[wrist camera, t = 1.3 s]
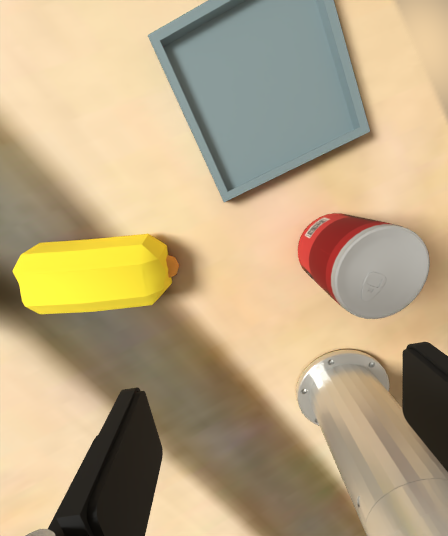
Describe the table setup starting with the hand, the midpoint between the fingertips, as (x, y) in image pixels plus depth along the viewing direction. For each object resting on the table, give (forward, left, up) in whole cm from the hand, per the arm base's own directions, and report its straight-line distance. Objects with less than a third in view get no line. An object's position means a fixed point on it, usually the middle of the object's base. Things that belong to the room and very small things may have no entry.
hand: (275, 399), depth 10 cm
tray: (+14, -9, -23) cm, 28 cm away
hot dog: (+5, +15, -24) cm, 28 cm away
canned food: (-4, -10, -23) cm, 26 cm away
